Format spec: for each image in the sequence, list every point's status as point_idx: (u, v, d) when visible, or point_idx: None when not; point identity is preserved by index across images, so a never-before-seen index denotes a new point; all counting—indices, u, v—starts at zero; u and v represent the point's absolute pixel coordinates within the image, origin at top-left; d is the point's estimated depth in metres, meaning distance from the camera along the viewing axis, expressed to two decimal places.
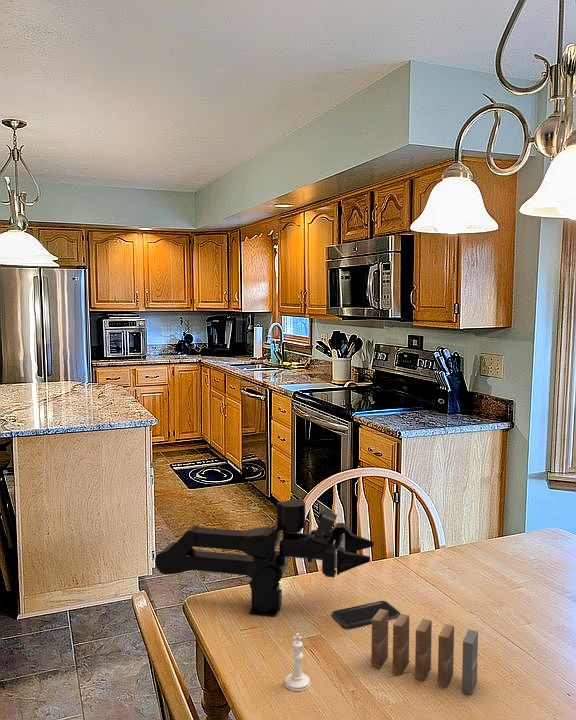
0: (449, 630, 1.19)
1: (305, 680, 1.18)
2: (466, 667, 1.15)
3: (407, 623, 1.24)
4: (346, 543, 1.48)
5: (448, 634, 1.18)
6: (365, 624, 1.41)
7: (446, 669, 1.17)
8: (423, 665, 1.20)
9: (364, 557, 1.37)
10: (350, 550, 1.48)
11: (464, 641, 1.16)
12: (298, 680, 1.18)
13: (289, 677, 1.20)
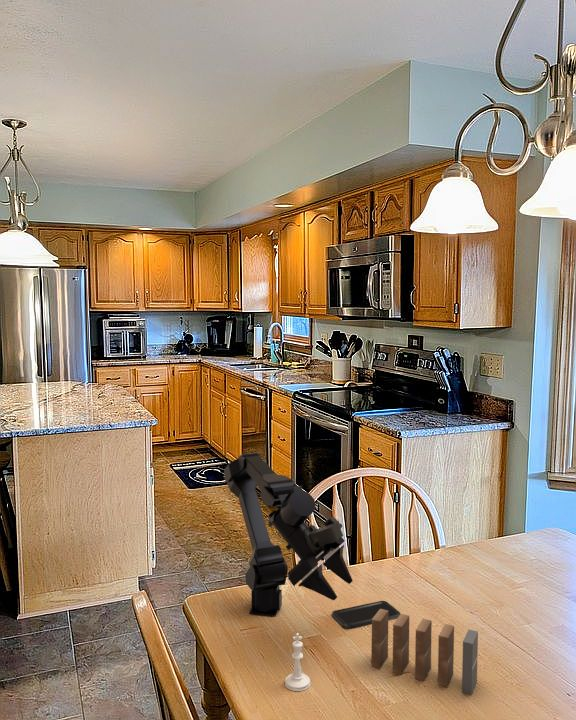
0: (449, 630, 1.19)
1: (305, 680, 1.18)
2: (466, 667, 1.15)
3: (407, 623, 1.24)
4: (330, 559, 1.36)
5: (448, 634, 1.18)
6: (365, 624, 1.41)
7: (446, 669, 1.17)
8: (423, 665, 1.20)
9: (332, 593, 1.26)
10: (328, 567, 1.37)
11: (464, 641, 1.16)
12: (298, 680, 1.18)
13: (289, 677, 1.20)
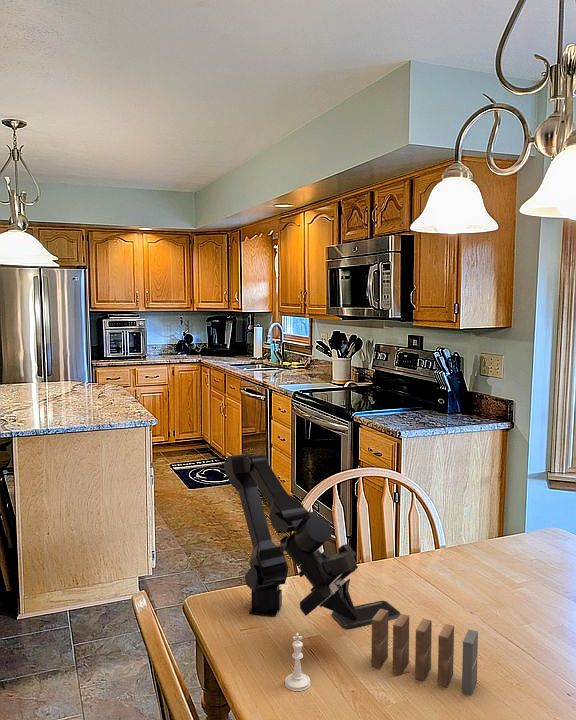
0: (449, 630, 1.19)
1: (305, 680, 1.18)
2: (466, 667, 1.15)
3: (407, 623, 1.24)
4: None
5: (448, 634, 1.18)
6: (365, 624, 1.41)
7: (446, 669, 1.17)
8: (423, 665, 1.20)
9: (352, 615, 1.28)
10: None
11: (464, 641, 1.16)
12: (298, 680, 1.18)
13: (289, 677, 1.20)
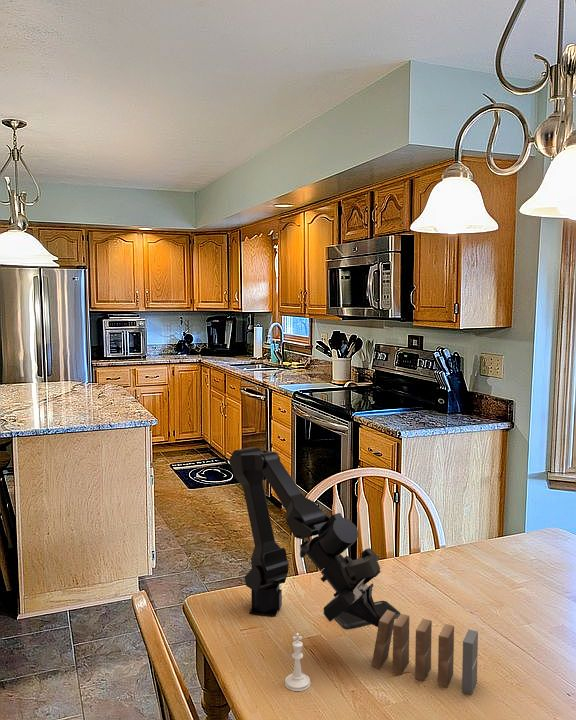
0: (449, 630, 1.19)
1: (305, 680, 1.18)
2: (466, 667, 1.15)
3: (407, 623, 1.24)
4: None
5: (448, 634, 1.18)
6: (365, 624, 1.41)
7: (446, 669, 1.17)
8: (423, 665, 1.20)
9: (377, 620, 1.25)
10: None
11: (464, 641, 1.16)
12: (298, 680, 1.18)
13: (289, 677, 1.20)
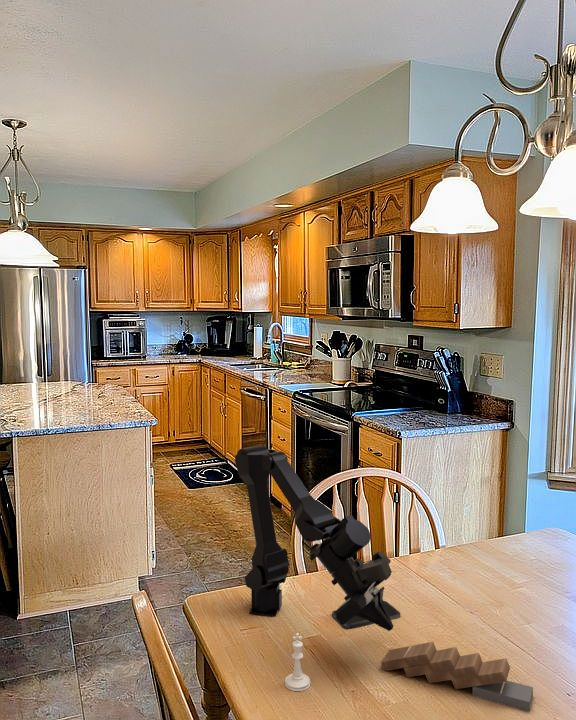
0: (507, 671, 1.15)
1: (305, 680, 1.18)
2: (501, 698, 1.13)
3: None
4: None
5: (506, 676, 1.14)
6: (365, 624, 1.41)
7: (473, 685, 1.15)
8: (443, 679, 1.18)
9: (388, 624, 1.24)
10: None
11: (529, 702, 1.11)
12: (298, 680, 1.18)
13: (289, 677, 1.20)
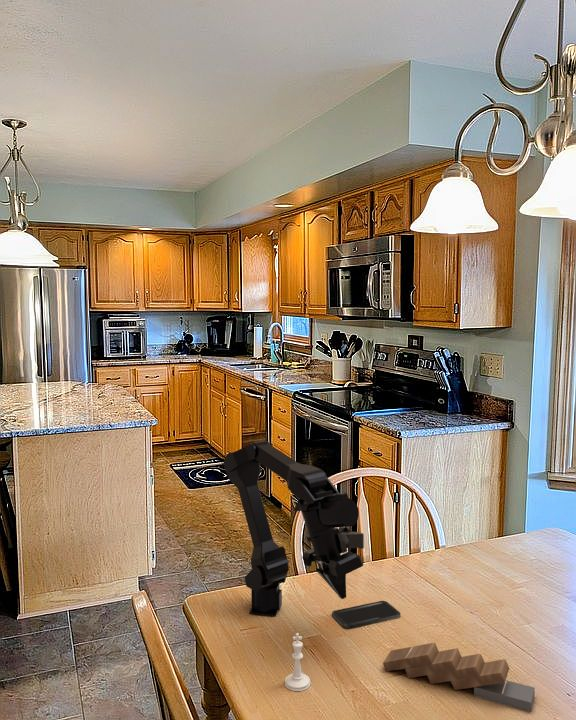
0: (506, 672, 1.15)
1: (305, 680, 1.18)
2: (502, 699, 1.13)
3: None
4: None
5: (505, 677, 1.13)
6: (365, 624, 1.41)
7: (472, 686, 1.15)
8: (445, 680, 1.18)
9: (345, 592, 1.32)
10: (325, 576, 1.32)
11: (531, 703, 1.11)
12: (298, 680, 1.18)
13: (289, 677, 1.20)
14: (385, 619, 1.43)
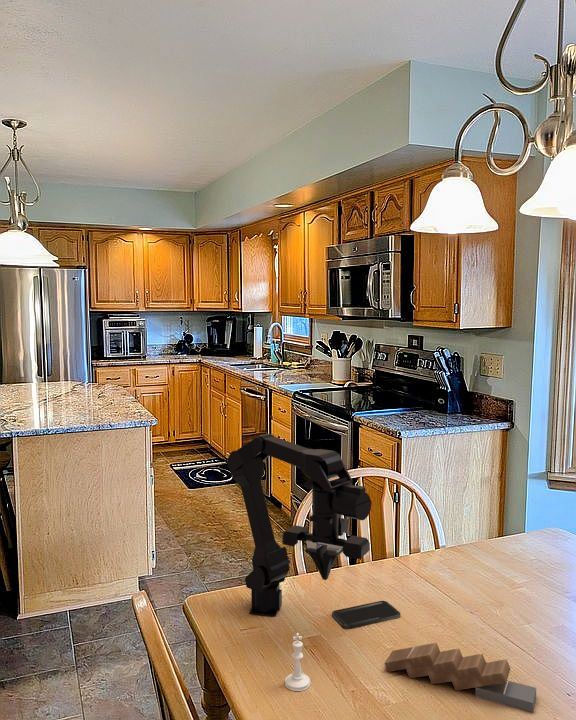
0: (507, 672, 1.15)
1: (305, 680, 1.18)
2: (504, 699, 1.13)
3: None
4: (321, 550, 1.35)
5: (506, 677, 1.13)
6: (365, 624, 1.41)
7: (473, 686, 1.15)
8: (447, 680, 1.17)
9: (329, 573, 1.36)
10: (318, 557, 1.33)
11: (532, 703, 1.10)
12: (298, 680, 1.18)
13: (289, 677, 1.20)
14: (385, 619, 1.43)
